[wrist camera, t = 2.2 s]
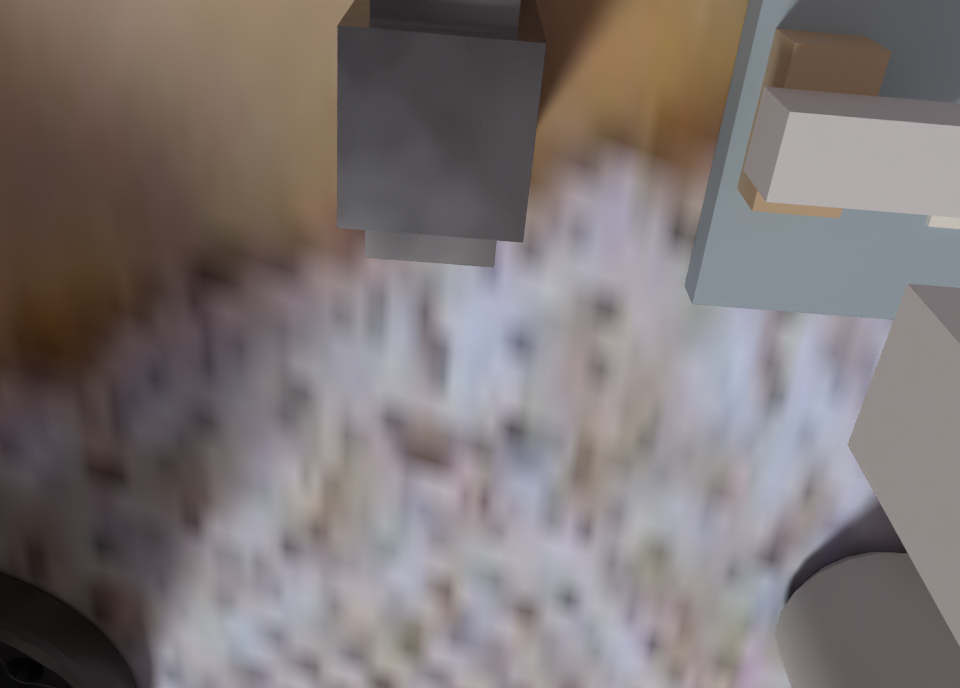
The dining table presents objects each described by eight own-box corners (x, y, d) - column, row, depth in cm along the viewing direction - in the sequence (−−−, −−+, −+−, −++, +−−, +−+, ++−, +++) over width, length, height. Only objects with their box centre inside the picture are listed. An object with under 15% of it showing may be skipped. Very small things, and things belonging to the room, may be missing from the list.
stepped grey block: (511, 190, 27) (518, 279, 22) (365, 178, 27) (336, 266, 22) (537, -47, 24) (552, -8, 18) (369, -62, 23) (337, -26, 18)
